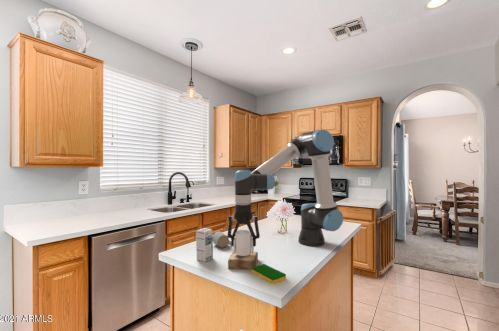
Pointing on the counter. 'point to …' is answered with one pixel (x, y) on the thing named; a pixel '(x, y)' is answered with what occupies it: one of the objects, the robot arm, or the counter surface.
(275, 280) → the dish sponge
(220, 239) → the ceramic mug
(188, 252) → the counter surface
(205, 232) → the syrup box
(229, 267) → the walnut plinth
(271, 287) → the counter surface
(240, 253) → the white cup
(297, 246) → the counter surface
